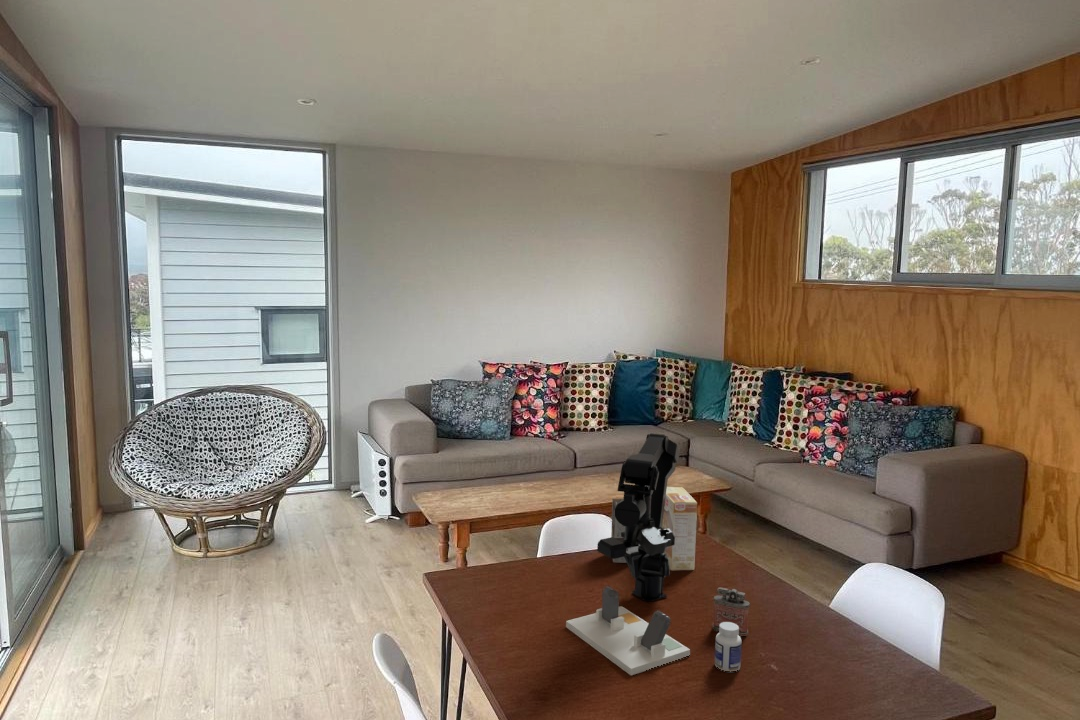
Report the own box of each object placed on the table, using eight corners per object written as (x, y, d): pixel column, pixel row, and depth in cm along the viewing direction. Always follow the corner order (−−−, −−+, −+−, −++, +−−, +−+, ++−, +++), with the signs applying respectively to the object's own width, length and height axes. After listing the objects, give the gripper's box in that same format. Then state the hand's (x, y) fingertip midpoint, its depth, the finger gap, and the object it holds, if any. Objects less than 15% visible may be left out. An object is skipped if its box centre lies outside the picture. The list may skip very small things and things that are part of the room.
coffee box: (635, 563, 213) (637, 508, 211) (612, 563, 213) (614, 507, 211) (632, 551, 222) (634, 498, 220) (610, 551, 222) (612, 497, 220)
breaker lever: (607, 617, 175) (608, 584, 174) (618, 625, 171) (620, 591, 170) (601, 619, 174) (602, 585, 173) (612, 627, 170) (613, 593, 170)
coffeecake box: (656, 550, 223) (659, 486, 221) (680, 550, 224) (683, 486, 221) (669, 570, 208) (672, 502, 206) (695, 570, 209) (698, 502, 207)
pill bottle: (741, 662, 160) (743, 622, 159) (739, 675, 155) (741, 633, 154) (715, 658, 161) (717, 618, 160) (712, 670, 156) (714, 629, 155)
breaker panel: (621, 612, 182) (622, 576, 181) (689, 656, 162) (691, 616, 161) (566, 627, 174) (567, 589, 173) (630, 675, 154) (632, 633, 153)
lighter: (749, 632, 173) (751, 590, 172) (746, 638, 170) (749, 596, 169) (714, 624, 177) (716, 583, 176) (710, 630, 174) (713, 589, 173)
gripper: (627, 530, 162) (624, 599, 164) (692, 516, 172) (689, 582, 173) (596, 515, 171) (594, 581, 173) (660, 503, 181) (657, 565, 183)
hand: (635, 577), depth 175 cm, fingers closed
